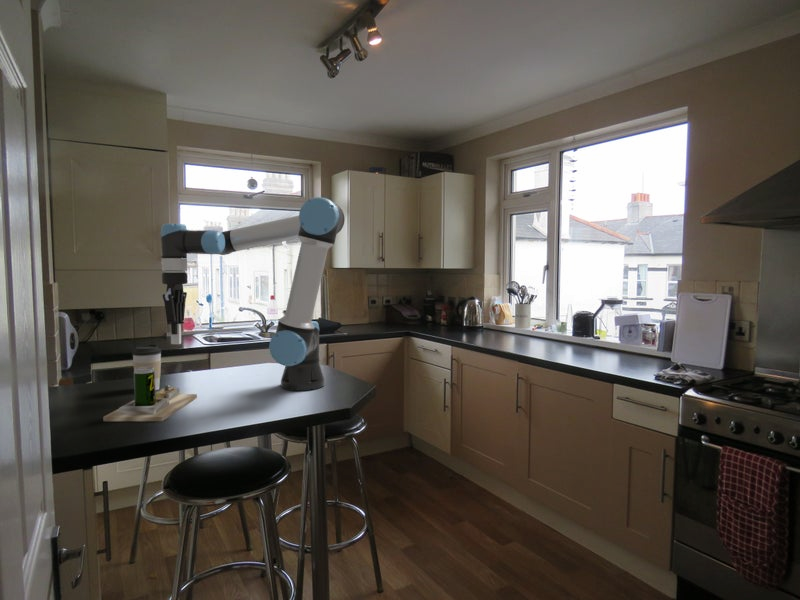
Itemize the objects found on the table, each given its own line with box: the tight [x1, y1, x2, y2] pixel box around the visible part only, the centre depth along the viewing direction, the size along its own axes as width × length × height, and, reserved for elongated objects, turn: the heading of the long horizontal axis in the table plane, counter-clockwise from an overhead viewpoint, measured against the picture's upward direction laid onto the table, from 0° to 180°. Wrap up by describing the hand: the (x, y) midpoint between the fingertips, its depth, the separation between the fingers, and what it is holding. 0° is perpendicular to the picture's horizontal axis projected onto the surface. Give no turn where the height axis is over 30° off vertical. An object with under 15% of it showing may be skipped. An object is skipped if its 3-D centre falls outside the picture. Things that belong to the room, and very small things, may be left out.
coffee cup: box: [131, 344, 162, 391], centre depth 173 cm, size 9×9×15 cm
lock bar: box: [156, 384, 176, 401], centre depth 158 cm, size 2×8×3 cm, turn 0°
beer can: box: [133, 366, 156, 406], centre depth 145 cm, size 5×5×12 cm
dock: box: [102, 387, 198, 422], centre depth 150 cm, size 16×24×3 cm, turn 0°
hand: (176, 343), depth 166 cm, fingers closed
